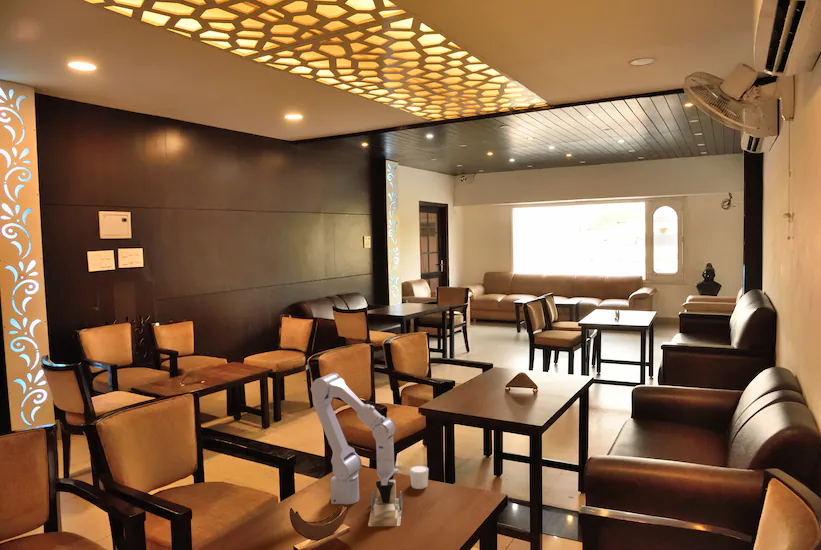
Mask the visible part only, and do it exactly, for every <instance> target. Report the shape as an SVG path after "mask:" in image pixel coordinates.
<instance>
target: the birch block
mask: <svg viewBox="0 0 821 550" xmlns="http://www.w3.org/2000/svg"><path fill="white" fill-rule="evenodd" d="M377 481H381V479H377ZM377 481H376V482H377ZM396 481H397V480H396V479H393V480H388V482H394V484H393V487H392V489H391V494H390V501H389V503H383V502H382V499H381V495H380V492H379V489H378V488H377V487H376V499H377V504H396V498H397V487H396V486H397V485H396Z"/></svg>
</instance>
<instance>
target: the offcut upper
mask: <svg viewBox="0 0 821 550" xmlns="http://www.w3.org/2000/svg"><path fill="white" fill-rule="evenodd" d="M374 515H375V518H385V517H395V516H396V513H395V506H394V504H384V505H374Z"/></svg>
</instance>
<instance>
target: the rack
mask: <svg viewBox="0 0 821 550" xmlns="http://www.w3.org/2000/svg"><path fill="white" fill-rule="evenodd" d="M375 497H376V496H375V491H372V492H371V497H370V509H371V510H370V514H369V520H368V524H367V527H400V526H401V522H402V513H403V511H402V510H403V491H402V490H400V491H399V497H398V498H397V497H396V504H394V506H395V510H398V521H397V524H371V517H372V512H373V510H374V505H384V504H377V498H375Z"/></svg>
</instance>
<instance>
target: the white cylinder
mask: <svg viewBox="0 0 821 550" xmlns="http://www.w3.org/2000/svg"><path fill="white" fill-rule="evenodd" d="M409 476H410V477H409V478H410V484H411V487H412V488H413V489H416V490H423V489H425V488H427V487H428V485H429V467H427V466H425V465H413V466H411V467H409Z"/></svg>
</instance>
